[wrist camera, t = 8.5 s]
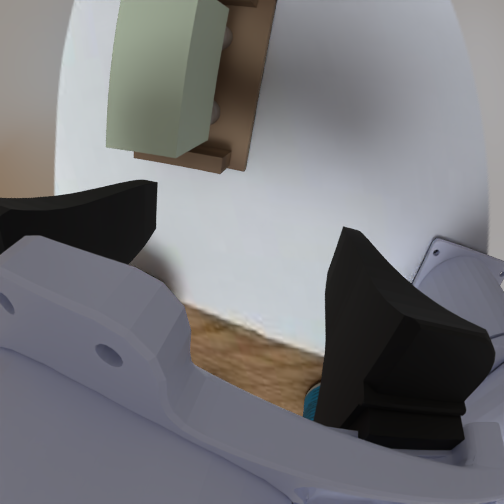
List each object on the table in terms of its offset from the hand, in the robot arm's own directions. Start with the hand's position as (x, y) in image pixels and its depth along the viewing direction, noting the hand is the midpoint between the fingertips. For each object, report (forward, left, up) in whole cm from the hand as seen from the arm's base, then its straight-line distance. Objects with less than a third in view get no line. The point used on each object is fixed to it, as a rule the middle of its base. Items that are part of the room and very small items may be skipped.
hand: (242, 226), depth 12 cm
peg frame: (+5, +6, -10) cm, 13 cm away
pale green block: (+5, +6, -7) cm, 11 cm away
